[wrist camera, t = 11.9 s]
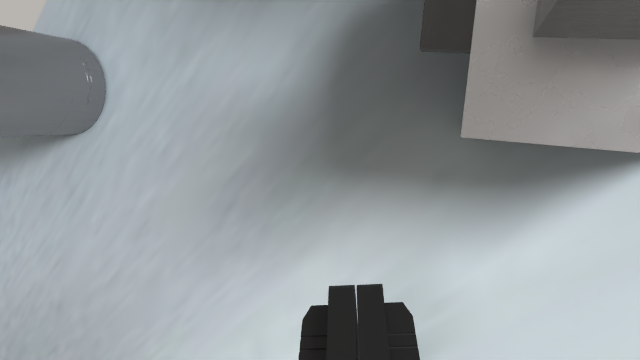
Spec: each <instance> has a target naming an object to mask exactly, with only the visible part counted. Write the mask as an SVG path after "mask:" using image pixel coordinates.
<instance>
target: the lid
mask: <svg viewBox="0 0 640 360" xmlns="http://www.w3.org/2000/svg"><path fill="white" fill-rule="evenodd" d="M461 137H462V138H474V139H485V140H497V141H508V142H520V143H531V144H543V145H554V146H566V147H577V148H589V149H600V150H612V151H623V152H635V153H640V0H477V2H476V10H475V19H474V27H473V36H472V44H471V52H470V61H469V69H468V78H467V86H466V95H465V103H464V112H463V120H462V129H461Z"/></svg>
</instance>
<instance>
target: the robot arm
mask: <svg viewBox="0 0 640 360" xmlns="http://www.w3.org/2000/svg"><path fill="white" fill-rule="evenodd" d="M105 93H106V91H105V79H104V75H103V71H102V68H101V66H100V64H99V62H98V60H97V58H96V57H95V55H94V54H93V53H92V52H91V51H90V50H89V49H88V48H87V47H86V46H84V45H83V44H81V43H80V42H77V41H74V40H71V39H66V38H60V37H55V36H50V35H45V34H40V33H36V32H31V31H26V30H21V29H16V28H11V27H6V26H1V25H0V137H15V136H47V135H71V134H78V133H81V132H83V131H85V130H87V129H88V128H90V127H91V126H92V125H93V124H94V122H95V121H96V120H97V119H98V117H99V115H100V113H101V111H102V108H103V105H104V100H105ZM357 310H358V320H357ZM299 360H420V357H419V351H418V345H417V339H416V335H415V327H414V321H413V316H412V314H411V313H410V312H409V310H408V309H407V308H406V306H405V305H404V303H403V302H396V303H384V296H383V286H382V284H370V285H357V308H356V295H355V285H344V286H329V297H328V305H317V306H311V307H310V309H309V310H308V312H307V314H306V315H305V317H304V318H303V321H302V331H301V341H300V352H299Z"/></svg>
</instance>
